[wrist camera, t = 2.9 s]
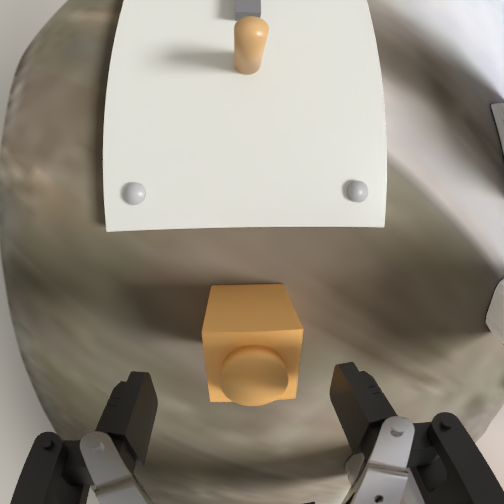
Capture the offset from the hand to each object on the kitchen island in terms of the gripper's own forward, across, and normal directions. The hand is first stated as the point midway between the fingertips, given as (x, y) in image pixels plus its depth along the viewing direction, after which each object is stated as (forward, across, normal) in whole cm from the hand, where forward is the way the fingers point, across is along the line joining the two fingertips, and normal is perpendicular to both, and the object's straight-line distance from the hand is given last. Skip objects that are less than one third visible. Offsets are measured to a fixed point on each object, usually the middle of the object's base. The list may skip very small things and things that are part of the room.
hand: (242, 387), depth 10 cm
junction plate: (+7, -1, -15) cm, 16 cm away
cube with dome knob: (+7, -1, 0) cm, 7 cm away
